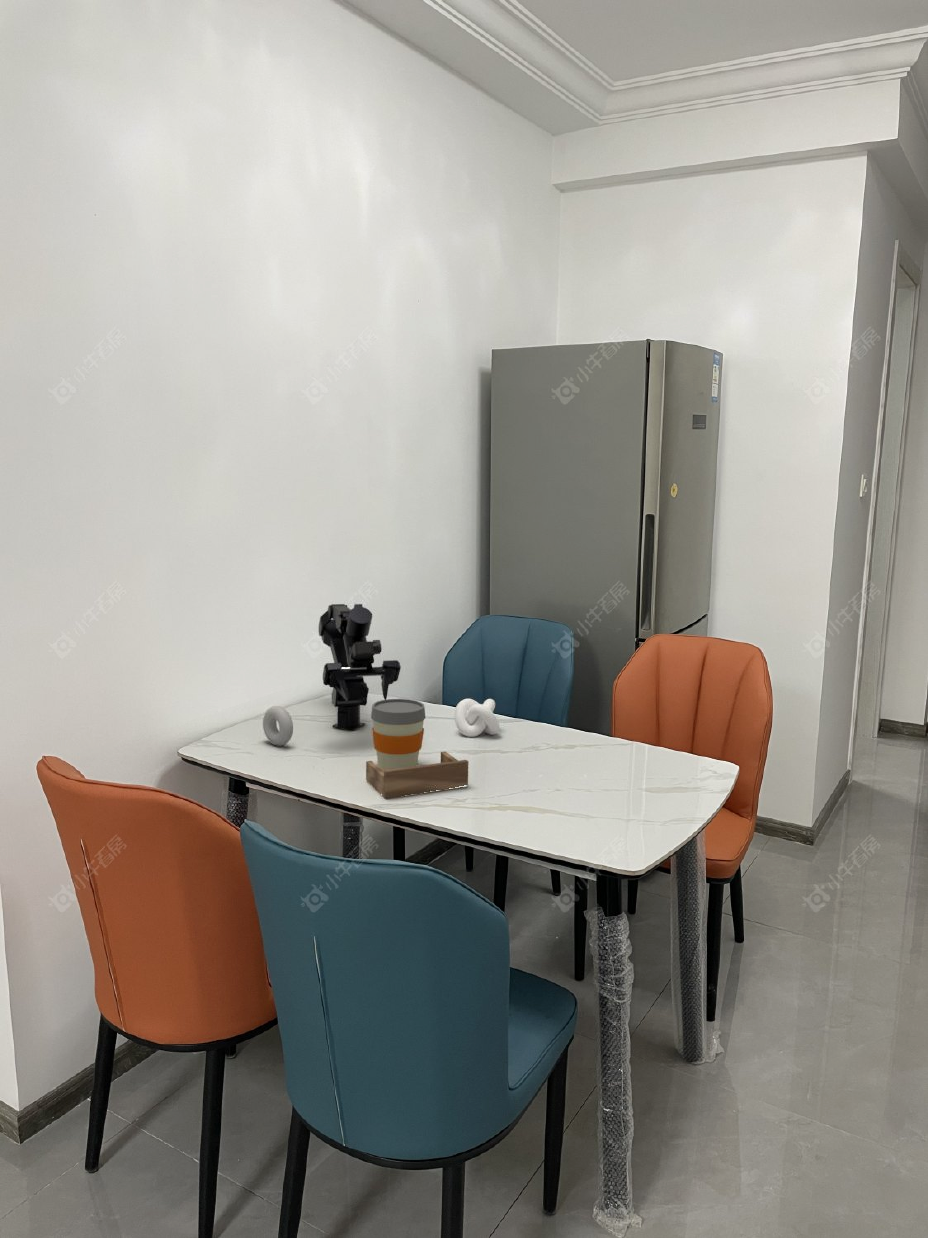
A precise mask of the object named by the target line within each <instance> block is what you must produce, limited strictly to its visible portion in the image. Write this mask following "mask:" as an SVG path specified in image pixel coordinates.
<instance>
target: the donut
mask: <svg viewBox="0 0 928 1238" xmlns="http://www.w3.org/2000/svg"><path fill="white" fill-rule="evenodd" d="M277 723H278V725H277ZM278 727H279V729H278ZM262 730H263V732H264V733H263V734H264V735H265V737H266V739H267V740H268V741H269V743H271V744H273V745H274V746H281V747H282V746H284V745H287V744H288V743H289V742H290V740H291V739H292V736H293V734H294V723H293V719H292V716H291V715H290V713H289V712H288V711H287V709H286V708H284V707H282V706H281V705H280V706H279V705H273V706H271V707H269V708H268V709H266V711H265V713H264V715H263V718H262Z"/></svg>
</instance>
